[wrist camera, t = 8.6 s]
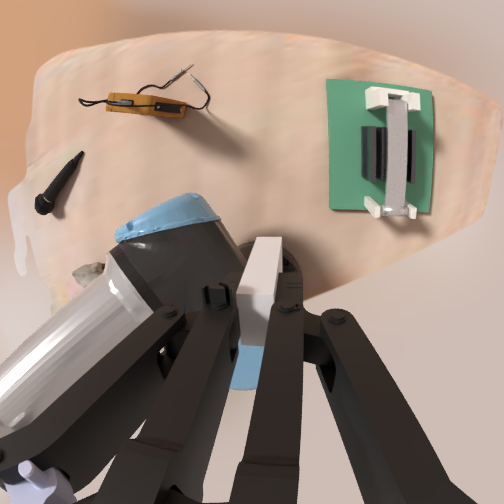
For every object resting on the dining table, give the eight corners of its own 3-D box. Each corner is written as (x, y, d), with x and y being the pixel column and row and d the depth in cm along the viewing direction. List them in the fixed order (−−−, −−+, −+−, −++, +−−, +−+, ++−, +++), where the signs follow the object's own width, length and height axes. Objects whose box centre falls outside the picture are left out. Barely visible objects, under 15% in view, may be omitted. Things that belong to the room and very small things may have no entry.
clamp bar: (402, 213, 39) (407, 218, 37) (378, 212, 39) (382, 217, 37) (405, 102, 32) (411, 101, 30) (380, 99, 32) (384, 98, 31)
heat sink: (406, 178, 41) (417, 184, 36) (361, 176, 42) (368, 181, 37) (407, 130, 37) (418, 130, 33) (360, 126, 39) (368, 125, 34)
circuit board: (426, 210, 43) (449, 227, 35) (329, 207, 46) (336, 223, 38) (428, 91, 35) (453, 85, 27) (325, 80, 38) (332, 68, 29)
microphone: (87, 146, 50) (45, 203, 55) (69, 141, 45) (28, 202, 49) (94, 162, 50) (51, 219, 54) (76, 158, 45) (33, 219, 49)
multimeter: (218, 66, 39) (168, 28, 21) (204, 122, 43) (145, 118, 25) (142, 60, 40) (69, 37, 21) (130, 111, 44) (52, 111, 26)
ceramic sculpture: (77, 264, 48) (128, 319, 52) (99, 245, 56) (145, 295, 60) (59, 287, 52) (104, 336, 56) (79, 268, 59) (121, 313, 64)
